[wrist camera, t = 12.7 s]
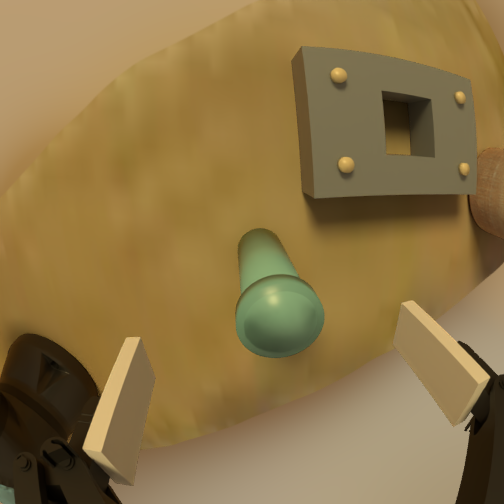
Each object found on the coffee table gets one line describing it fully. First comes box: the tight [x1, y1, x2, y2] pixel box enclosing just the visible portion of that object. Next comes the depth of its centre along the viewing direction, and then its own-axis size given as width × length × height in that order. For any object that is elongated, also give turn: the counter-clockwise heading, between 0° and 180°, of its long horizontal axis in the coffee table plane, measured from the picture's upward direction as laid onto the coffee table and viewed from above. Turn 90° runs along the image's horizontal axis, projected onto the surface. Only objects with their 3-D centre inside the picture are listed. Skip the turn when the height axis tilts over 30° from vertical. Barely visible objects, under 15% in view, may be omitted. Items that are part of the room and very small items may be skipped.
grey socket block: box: [291, 46, 477, 199], centre depth 21 cm, size 18×12×5 cm, turn 95°
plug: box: [235, 228, 324, 358], centre depth 21 cm, size 5×5×12 cm
